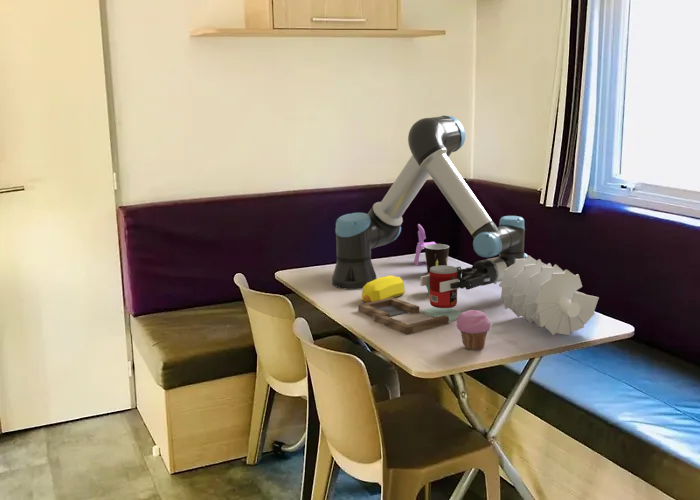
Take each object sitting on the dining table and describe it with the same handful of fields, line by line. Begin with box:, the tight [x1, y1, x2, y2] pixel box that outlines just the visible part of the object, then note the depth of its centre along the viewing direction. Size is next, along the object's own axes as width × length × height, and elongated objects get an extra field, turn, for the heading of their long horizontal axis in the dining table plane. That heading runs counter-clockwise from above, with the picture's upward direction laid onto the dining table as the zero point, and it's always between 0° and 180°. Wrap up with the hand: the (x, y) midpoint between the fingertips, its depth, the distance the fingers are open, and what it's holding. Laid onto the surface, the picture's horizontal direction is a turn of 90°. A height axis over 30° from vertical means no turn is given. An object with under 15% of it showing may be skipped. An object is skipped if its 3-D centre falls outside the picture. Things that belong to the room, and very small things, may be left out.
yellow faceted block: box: [361, 274, 406, 303], centre depth 246 cm, size 18×7×8 cm
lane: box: [357, 297, 450, 336], centre depth 227 cm, size 26×15×2 cm, turn 34°
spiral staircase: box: [498, 254, 600, 336], centre depth 215 cm, size 18×18×25 cm
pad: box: [420, 306, 464, 322], centre depth 229 cm, size 12×8×1 cm, turn 34°
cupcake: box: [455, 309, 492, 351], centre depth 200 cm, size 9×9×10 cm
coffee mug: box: [424, 243, 450, 274], centre depth 272 cm, size 12×9×10 cm
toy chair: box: [413, 223, 437, 267], centre depth 288 cm, size 8×9×15 cm
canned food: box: [429, 265, 458, 309], centre depth 227 cm, size 8×8×11 cm
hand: (430, 284), depth 224 cm, fingers closed on canned food, 8 cm apart
